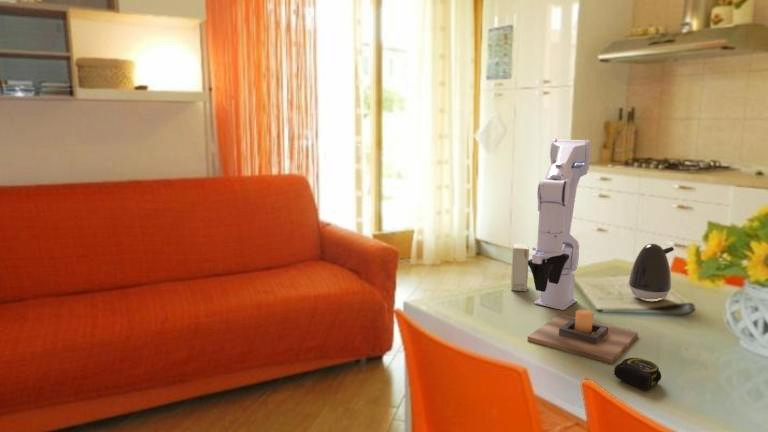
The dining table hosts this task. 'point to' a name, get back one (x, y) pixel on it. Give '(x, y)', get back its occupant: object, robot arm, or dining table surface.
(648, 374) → the tape measure
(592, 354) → the socket
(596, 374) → the dining table surface
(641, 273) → the pump dispenser
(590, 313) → the peg
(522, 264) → the skincare box
